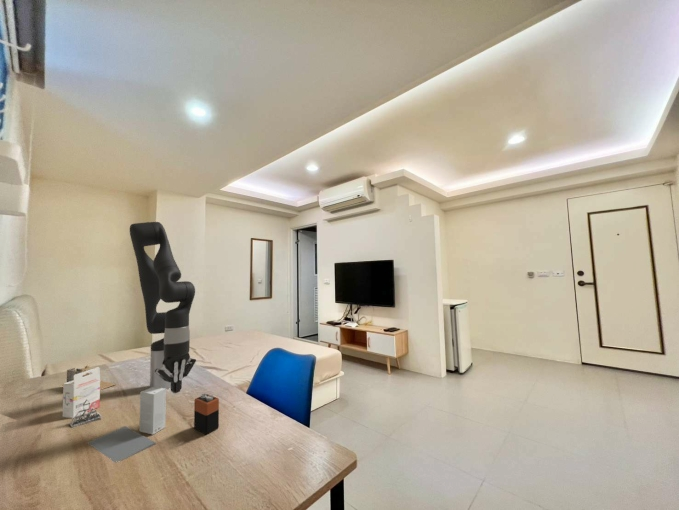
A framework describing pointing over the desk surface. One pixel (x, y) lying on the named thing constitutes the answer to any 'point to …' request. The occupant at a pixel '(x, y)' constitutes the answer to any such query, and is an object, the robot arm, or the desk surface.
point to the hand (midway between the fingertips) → (176, 392)
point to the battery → (206, 413)
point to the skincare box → (152, 410)
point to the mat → (121, 444)
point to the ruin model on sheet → (72, 372)
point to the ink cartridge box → (81, 393)
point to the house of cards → (88, 417)
